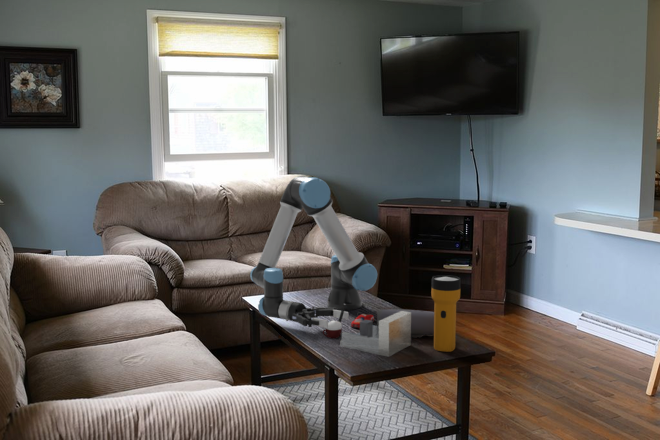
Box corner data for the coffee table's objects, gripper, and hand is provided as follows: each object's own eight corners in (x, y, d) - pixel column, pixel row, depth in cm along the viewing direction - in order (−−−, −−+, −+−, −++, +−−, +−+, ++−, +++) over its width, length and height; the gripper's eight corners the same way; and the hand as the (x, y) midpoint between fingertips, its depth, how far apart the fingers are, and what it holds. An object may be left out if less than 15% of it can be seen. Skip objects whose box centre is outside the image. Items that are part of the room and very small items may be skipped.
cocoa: (323, 341, 253) (321, 309, 251) (322, 335, 259) (320, 304, 257) (348, 339, 254) (347, 308, 252) (346, 333, 260) (345, 303, 258)
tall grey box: (365, 335, 250) (365, 319, 250) (372, 336, 249) (372, 320, 248) (359, 338, 247) (359, 322, 246) (366, 339, 246) (366, 323, 245)
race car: (360, 330, 265) (360, 320, 265) (348, 328, 268) (348, 318, 268) (376, 322, 276) (376, 312, 276) (364, 320, 279) (364, 310, 279)
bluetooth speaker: (439, 333, 260) (439, 308, 258) (437, 341, 251) (438, 314, 249) (379, 330, 264) (379, 305, 263) (376, 337, 255) (376, 311, 254)
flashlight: (462, 275, 242) (457, 281, 233) (461, 345, 245) (456, 354, 236) (435, 273, 245) (428, 278, 236) (433, 342, 249) (427, 351, 240)
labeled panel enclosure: (363, 335, 258) (363, 304, 257) (410, 344, 247) (411, 312, 245) (340, 346, 245) (340, 314, 244) (388, 356, 234) (388, 322, 232)
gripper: (312, 313, 277) (356, 322, 265) (272, 328, 256) (318, 338, 244) (312, 295, 276) (356, 303, 264) (272, 309, 255) (318, 317, 243)
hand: (337, 320), depth 254 cm, fingers open, 13 cm apart
